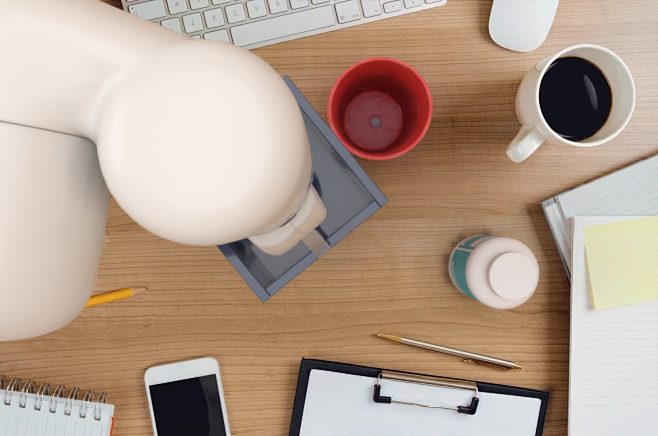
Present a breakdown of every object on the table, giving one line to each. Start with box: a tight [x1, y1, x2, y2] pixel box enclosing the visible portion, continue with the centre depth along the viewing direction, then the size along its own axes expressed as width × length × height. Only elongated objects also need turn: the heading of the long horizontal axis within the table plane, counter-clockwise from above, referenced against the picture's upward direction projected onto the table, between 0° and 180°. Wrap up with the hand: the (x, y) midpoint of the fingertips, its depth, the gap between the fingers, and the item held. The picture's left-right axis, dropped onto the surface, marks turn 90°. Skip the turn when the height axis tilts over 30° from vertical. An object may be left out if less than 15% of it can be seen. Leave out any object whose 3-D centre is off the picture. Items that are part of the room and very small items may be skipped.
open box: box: [215, 74, 390, 304], centre depth 50 cm, size 13×13×5 cm
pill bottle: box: [448, 234, 540, 310], centre depth 66 cm, size 8×7×14 cm
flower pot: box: [326, 56, 434, 162], centre depth 67 cm, size 11×11×10 cm
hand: (272, 183), depth 51 cm, fingers closed on sponge, 4 cm apart
